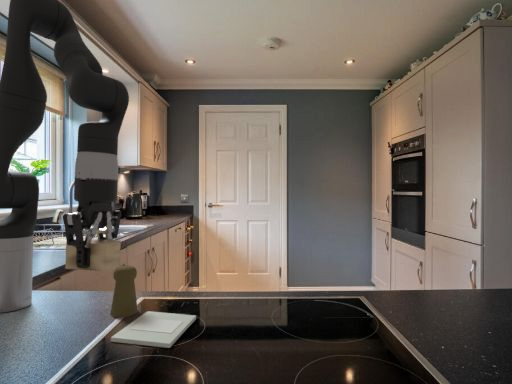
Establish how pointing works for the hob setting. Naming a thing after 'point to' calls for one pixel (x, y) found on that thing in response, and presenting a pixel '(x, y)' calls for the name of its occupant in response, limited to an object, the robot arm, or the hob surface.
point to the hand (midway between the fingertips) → (93, 264)
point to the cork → (124, 292)
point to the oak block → (96, 255)
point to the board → (155, 329)
